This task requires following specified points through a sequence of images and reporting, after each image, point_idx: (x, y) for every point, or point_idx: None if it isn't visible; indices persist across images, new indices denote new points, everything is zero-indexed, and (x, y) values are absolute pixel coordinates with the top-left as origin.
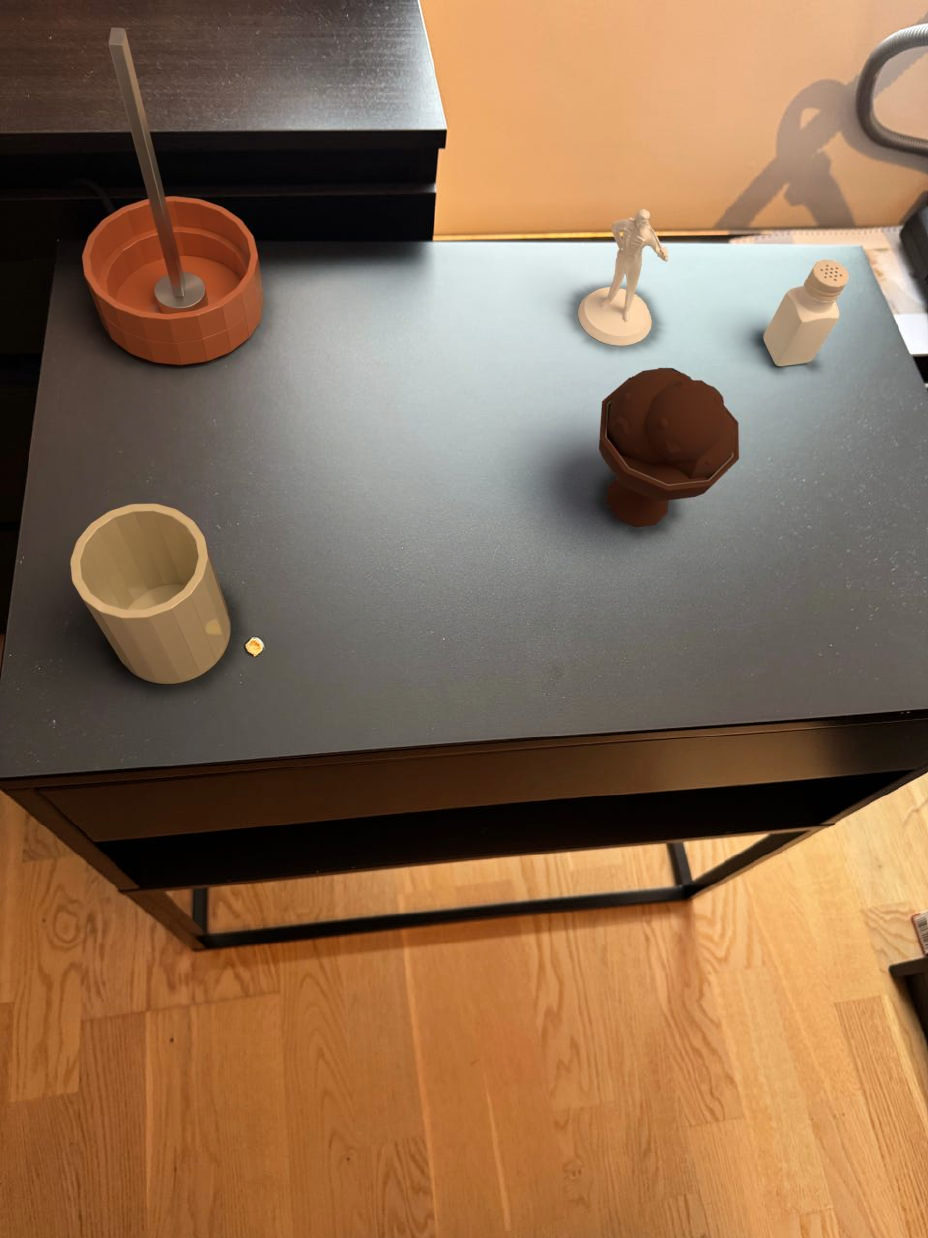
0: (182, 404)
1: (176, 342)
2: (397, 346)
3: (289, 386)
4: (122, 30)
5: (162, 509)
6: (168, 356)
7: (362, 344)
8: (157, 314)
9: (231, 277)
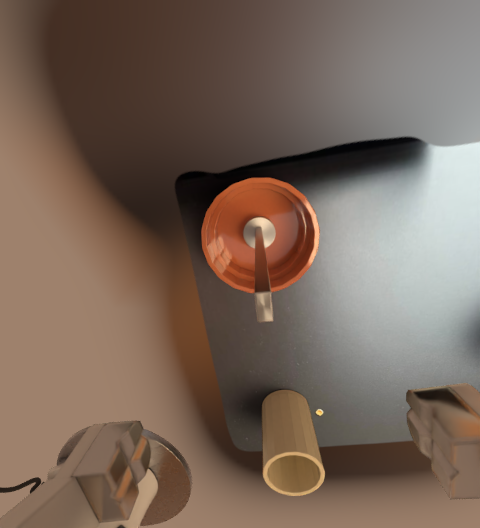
0: None
1: None
2: (396, 244)
3: (328, 282)
4: (269, 298)
5: (300, 454)
6: None
7: (373, 245)
8: None
9: (286, 204)
